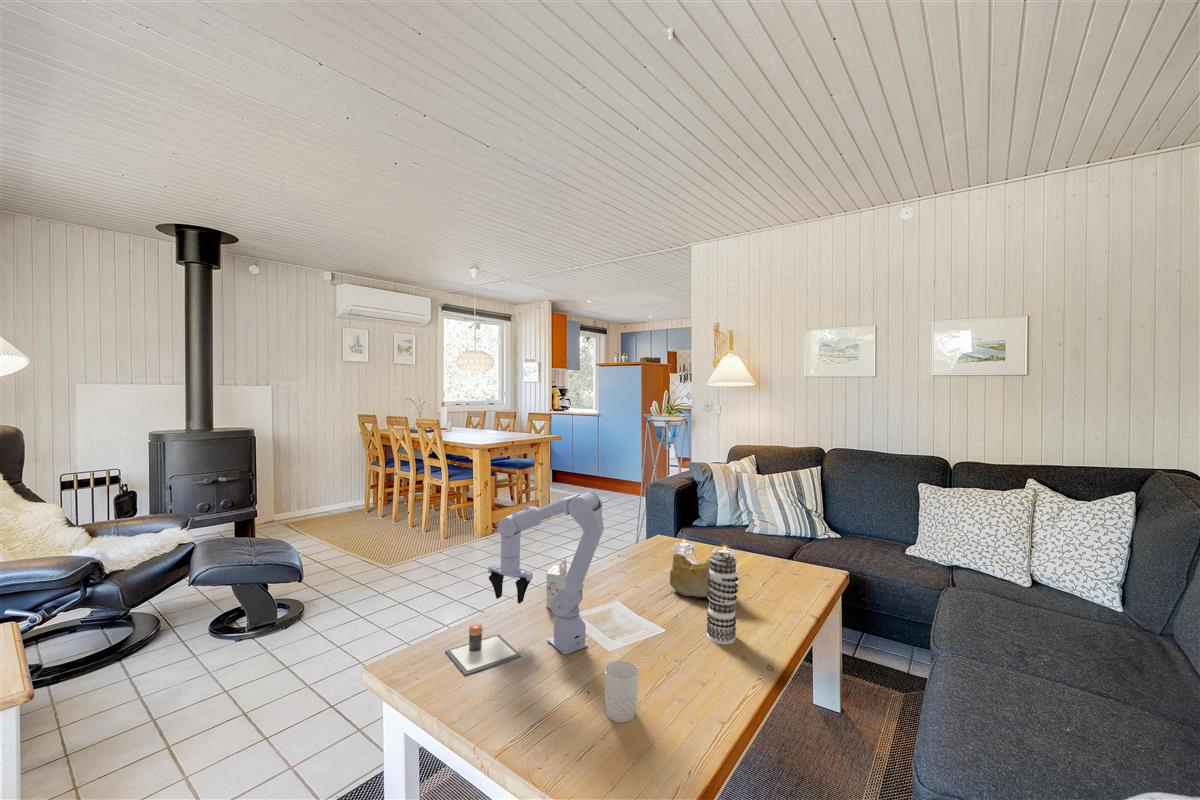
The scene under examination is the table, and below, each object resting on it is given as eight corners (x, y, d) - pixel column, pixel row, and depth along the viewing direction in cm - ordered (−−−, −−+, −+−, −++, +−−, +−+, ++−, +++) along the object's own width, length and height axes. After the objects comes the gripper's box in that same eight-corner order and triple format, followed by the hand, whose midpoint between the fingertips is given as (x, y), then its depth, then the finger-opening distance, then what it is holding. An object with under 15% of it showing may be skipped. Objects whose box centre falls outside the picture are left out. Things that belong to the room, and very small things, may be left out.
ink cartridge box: (552, 597, 174) (553, 556, 173) (566, 599, 173) (567, 557, 172) (545, 607, 165) (546, 564, 165) (559, 609, 164) (560, 565, 164)
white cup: (601, 702, 116) (602, 660, 116) (635, 701, 116) (636, 659, 116) (605, 725, 108) (606, 680, 108) (640, 724, 109) (641, 679, 108)
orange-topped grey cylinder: (484, 648, 137) (484, 627, 137) (472, 653, 135) (473, 631, 135) (477, 643, 140) (478, 622, 140) (466, 648, 137) (466, 626, 137)
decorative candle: (739, 633, 150) (741, 552, 150) (734, 648, 142) (736, 561, 141) (709, 627, 154) (711, 547, 154) (702, 640, 146) (704, 556, 145)
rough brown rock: (744, 597, 179) (745, 555, 180) (727, 609, 166) (728, 564, 167) (686, 583, 193) (687, 544, 194) (666, 593, 179) (667, 552, 180)
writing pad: (521, 656, 135) (521, 654, 135) (465, 676, 125) (465, 673, 125) (498, 635, 146) (498, 633, 146) (445, 652, 136) (445, 650, 136)
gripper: (538, 554, 150) (537, 599, 150) (497, 547, 155) (496, 590, 155) (526, 561, 143) (525, 608, 143) (484, 554, 149) (483, 599, 149)
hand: (509, 599), depth 149 cm, fingers open, 7 cm apart
